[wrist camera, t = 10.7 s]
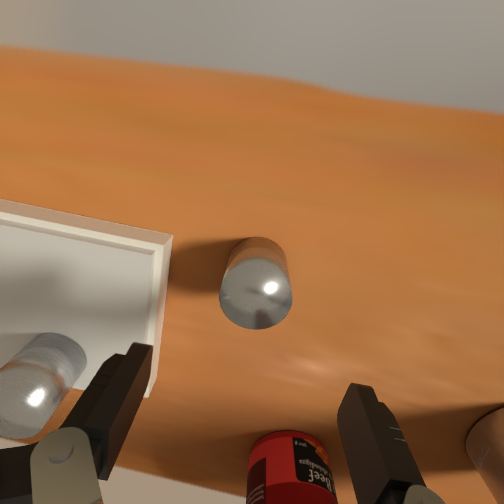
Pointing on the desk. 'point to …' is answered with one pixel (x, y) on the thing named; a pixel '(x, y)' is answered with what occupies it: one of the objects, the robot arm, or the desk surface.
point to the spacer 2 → (256, 284)
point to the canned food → (289, 471)
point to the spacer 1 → (37, 383)
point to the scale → (81, 283)
